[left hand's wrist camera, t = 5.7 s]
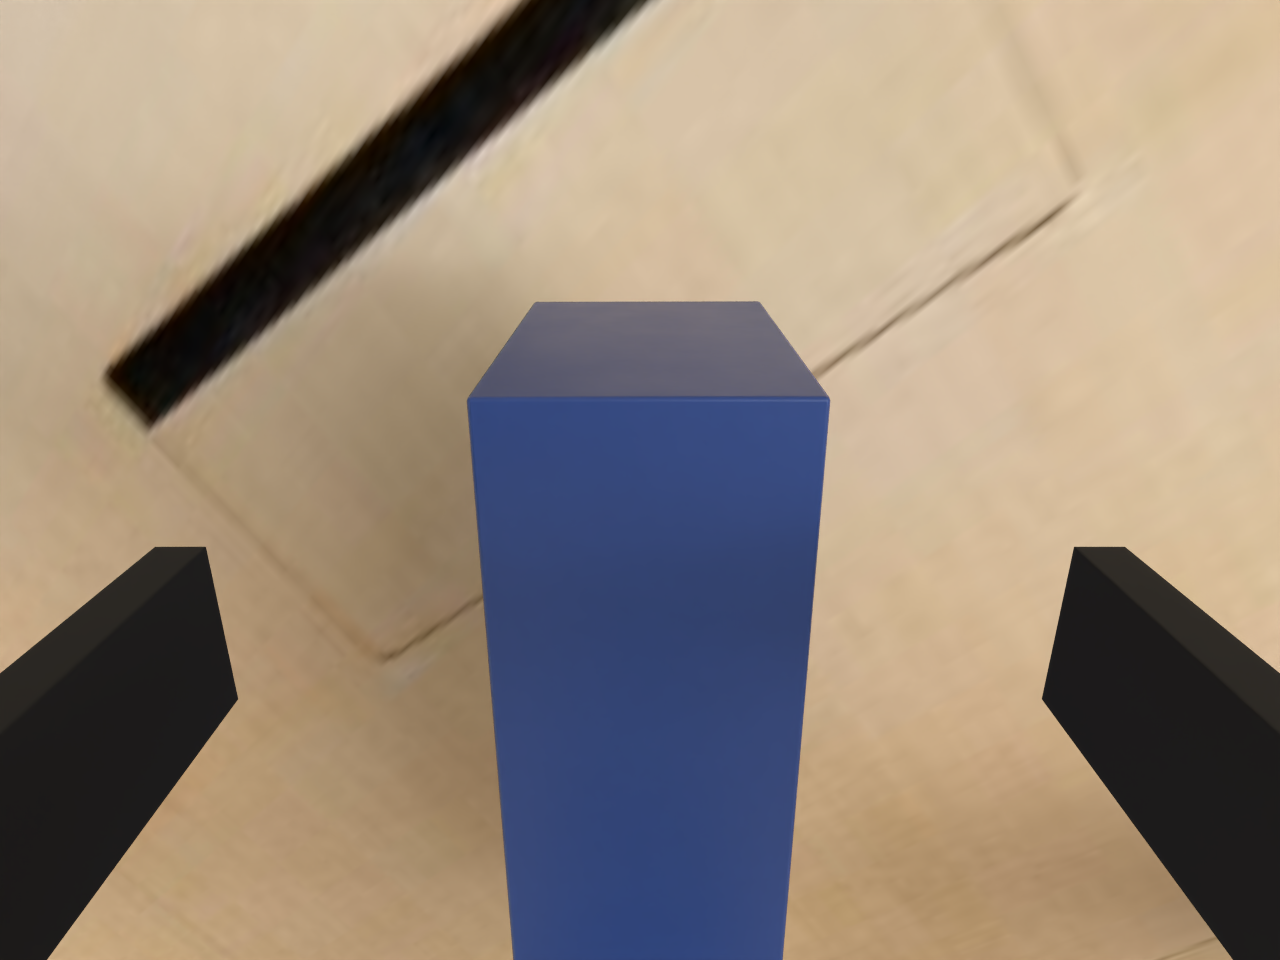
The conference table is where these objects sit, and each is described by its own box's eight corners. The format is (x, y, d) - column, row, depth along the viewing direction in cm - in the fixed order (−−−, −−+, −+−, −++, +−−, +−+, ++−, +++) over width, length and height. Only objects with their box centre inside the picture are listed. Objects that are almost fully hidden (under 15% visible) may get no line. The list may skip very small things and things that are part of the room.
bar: (534, 301, 20) (465, 397, 13) (760, 301, 20) (831, 396, 13) (570, 1025, 30) (543, 1332, 22) (723, 1025, 30) (751, 1333, 22)
